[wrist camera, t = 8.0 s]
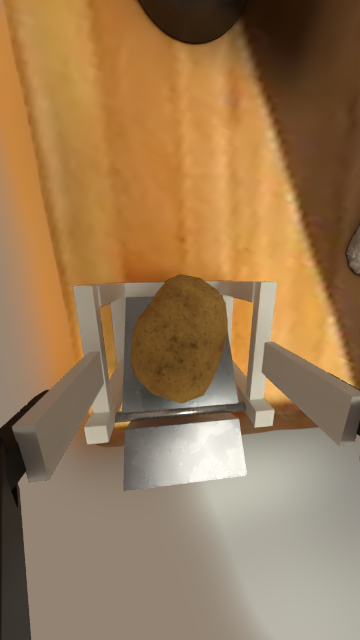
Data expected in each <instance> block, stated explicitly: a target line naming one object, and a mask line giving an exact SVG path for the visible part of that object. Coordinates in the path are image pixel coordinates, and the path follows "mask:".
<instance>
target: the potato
mask: <svg viewBox="0 0 360 640" xmlns="http://www.w3.org/2000/svg"><path fill="white" fill-rule="evenodd" d="M227 336H228V319H227V312H226V302H225V301H224V299H223V298H222V296H221V295H220V293H219V292H218V290H217V289H215V288H214V287H212V286H211V285H210V284H208V283H207V282H205V281H204V280H202V279H201V278H196V277H191V276H186V275H182V274H179V275H177V276H175V277H173V278H171V279H169V280H167V281H165V283H164V284H163V285H162V286H161V288H160V289H159V290H158V291H157V293H156V294H155V296H154V298H153V299H152V301H151V302H150V304H149V305H148V306H147V308H146V309H145V310H144V311H143V312H142V314H141V315H140V316H139V318H138V320H137V322H136V324H135V326H134V328H133V337H132V346H131V356H130V360H131V364H132V369H133V373H134V375H135V376H136V377H137V378H138V380H139V381H140V382H141V383H142V384H143V385H144V386H145V387H146V388H147V389H148V390H149V392H150V393H152V394H155V395H158V396H161V397H164V398H166V399H169V400H172V401H175V402H178V403H181V404H183V403H185V402H188V401H190V400H193V399H196V398H198V397H201V396H203V395H204V394H205V392H206V390H207V389H208V387H209V385H210V384H211V382H212V380H213V378H214V375H215V372H216V369H217V367H218V364H219V361H220V359H221V356H222V353H223V350H224V347H225V343H226V339H227Z"/></svg>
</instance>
